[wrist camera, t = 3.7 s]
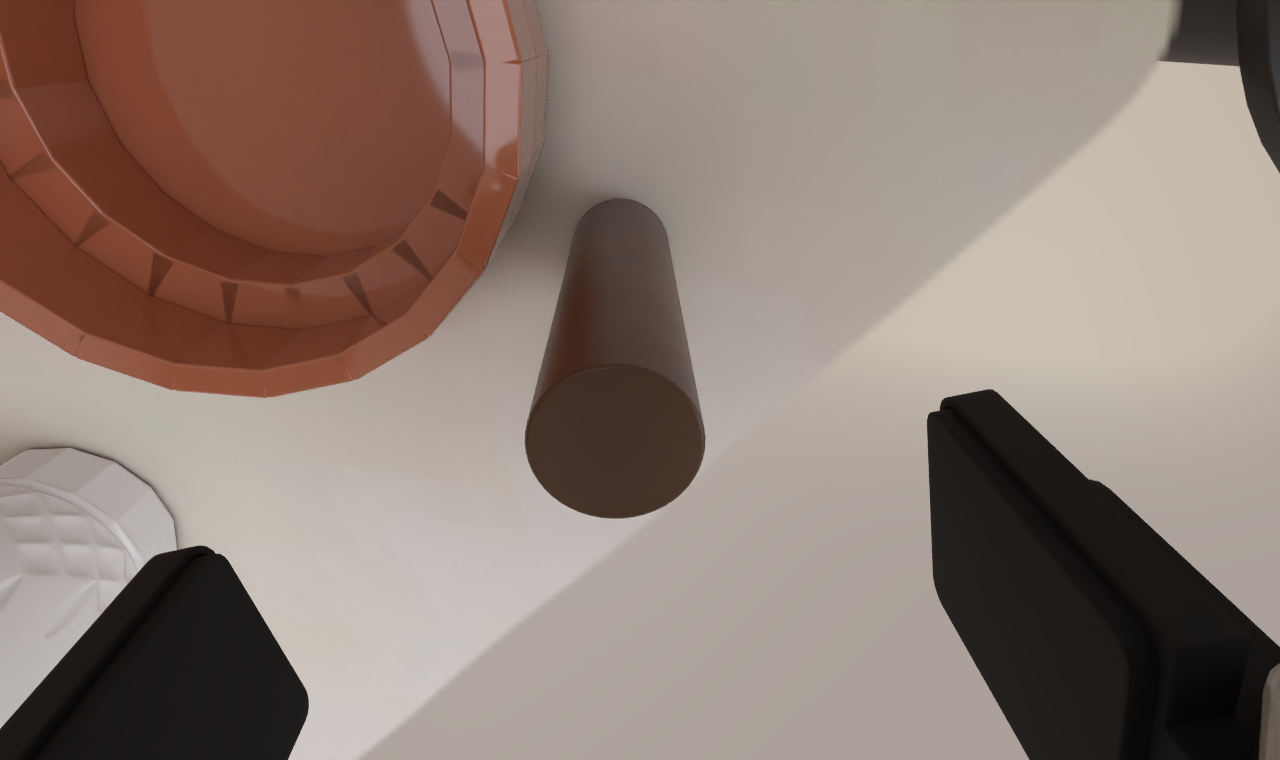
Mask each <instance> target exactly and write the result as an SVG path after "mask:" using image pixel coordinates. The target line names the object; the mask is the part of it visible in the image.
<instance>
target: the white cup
mask: <svg viewBox="0 0 1280 760" xmlns="http://www.w3.org/2000/svg"><path fill="white" fill-rule="evenodd" d="M175 550H177V544H176V536H175V528H174V520H173V518H172V516H171V515H170V513H169V512H168V510H167V509H166V508H165V506H164V505H163V503H162V502H161V500H160V499H159V498H158V496H157V495H156V493H155V492H154V491H153V489H152V488H151V487H150V486H149V485H147V484H146V483H144V482H143V481H142V480H140V479H139V478H137V477H136V476H134V475H133V474H132V473H130V472H129V471H127V470H126V469H124V468H123V467H122V466H120V465H119V464H117V463H116V462H114V461H111V460H108V459H104V458H101V457H98V456H95V455H92V454H88V453H85V452H82V451H79V450H76V449H72V448H54V449H29V450H25V451H23V452H21V453H19V454H17V455H16V456H14V457H12V458H10V459H9V460H7V461H5V462H3V463H2V464H0V728H1V727H2V726H3V725H4V724H5V723H6V722H7V720H8V719H9V718H10V717H11V716H12V715H13V714H14V712H15V711H16V710H17V709H18V708H19V707H20V706H21V705H22V703H23V702H24V701H25V700H26V699H27V698H28V697H29V695H30V694H31V693H32V692H33V691H34V690H35V689H36V688H37V686H38V685H39V684H40V683H41V682H42V681H43V680H44V678H45V677H46V676H47V675H48V674H49V673H50V672H51V671H52V669H53V668H54V667H55V666H56V665H57V664H58V663H59V661H60V660H61V659H62V658H63V657H64V656H65V655H66V653H67V652H68V651H69V650H70V649H71V648H72V647H73V646H74V644H75V643H76V642H77V641H78V640H79V639H80V638H81V636H82V635H83V634H84V633H85V632H86V631H87V630H88V629H89V627H90V626H91V625H92V624H93V623H94V622H95V621H96V619H97V618H98V617H99V616H100V615H101V614H102V613H103V612H104V610H105V609H106V608H107V607H108V606H109V605H110V604H111V602H112V601H113V600H114V599H115V598H116V597H117V596H118V594H119V593H120V592H121V591H122V590H123V589H124V588H125V587H126V585H127V584H128V583H129V582H130V581H131V580H132V579H133V577H134V576H135V575H136V574H137V573H138V572H139V571H140V570H141V568H142V567H143V566H144V565H145V564H146V563H147V562H148V561H149V560H150V559H151V558H152V557H153V556H155V555H158V554H161V553H165V552H170V551H175Z"/></svg>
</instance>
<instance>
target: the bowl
mask: <svg viewBox="0 0 1280 760" xmlns="http://www.w3.org/2000/svg"><path fill="white" fill-rule="evenodd" d="M547 66H548V55H547V47H546V43H545V39H544V35H543V31H542V27H541V23H540V19H539V15H538V11H537V7H536V3H535V0H0V312H2V313H4V314H5V315H7V316H9V317H10V318H12V319H14V320H15V321H17V322H18V323H20V324H22V325H23V326H25V327H27V328H28V329H30V330H32V331H33V332H35V333H37V334H38V335H40V336H41V337H43V338H45V339H46V340H48V341H50V342H51V343H53V344H55V345H56V346H58V347H59V348H61V349H63V350H64V351H66V352H68V353H69V354H71V355H73V356H77V358H79V359H82V360H85V361H88V362H91V363H93V364H96V365H99V366H102V367H105V368H108V369H111V370H114V371H117V372H120V373H123V374H126V375H129V376H132V377H135V378H138V379H141V380H144V381H147V382H149V383H152V384H155V385H158V386H161V387H164V388H167V389H170V390H174V389H175V390H177V391H187V392H199V393H212V394H224V395H236V396H249V397H261V398H267V397H276V396H280V395H285V394H290V393H295V392H300V391H305V390H310V389H314V388H319V387H324V386H329V385H334V384H339V383H344V382H348V381H353V380H354V379H355V380H356V379H359V378H361V377H362V376H364V375H366V374H367V373H369V372H371V371H373V370H374V369H376V368H378V367H379V366H381V365H383V364H385V363H386V362H388V361H390V360H391V359H393V358H395V357H397V356H398V355H400V354H402V353H403V352H405V351H407V350H409V349H410V348H412V347H414V346H415V345H417V344H419V343H421V342H422V341H424V340H426V339H427V338H428V337H429V336H431V335H432V334H433V333H434V331H435V330H436V329H437V328H438V327H439V325H440V324H441V323H442V322H443V320H444V319H445V318H446V317H447V316H448V314H449V313H450V312H451V311H452V310H453V308H454V307H455V306H456V305H457V304H458V302H459V301H460V300H461V299H462V298H463V296H464V295H465V294H466V293H467V292H468V290H469V289H470V288H471V287H472V286H473V284H474V283H475V282H476V281H477V280H478V278H479V277H480V276H481V275H482V274H483V272H484V271H485V269H486V268H487V266H488V264H489V262H490V261H491V259H492V257H493V256H494V254H495V252H496V250H497V249H498V247H499V245H500V243H501V242H502V240H503V238H504V237H505V235H506V233H507V231H508V230H509V228H510V226H511V225H512V223H513V221H514V219H515V218H516V216H517V214H518V212H519V209H520V206H521V204H522V201H523V198H524V196H525V193H526V190H527V187H528V185H529V182H530V179H531V177H532V174H533V171H534V168H535V166H536V163H537V160H538V158H539V155H540V152H541V149H542V147H543V144H544V142H543V141H544V137H545V114H546V90H547Z"/></svg>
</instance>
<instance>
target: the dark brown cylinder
mask: <svg viewBox="0 0 1280 760" xmlns="http://www.w3.org/2000/svg"><path fill="white" fill-rule="evenodd" d="M525 448H526V454H527V458H528V462H529V464H530V467H531V469H532V471H533V473H534V475H535V476H536V478H537V480H538V481H539V482H540V484H541V485H542V486H543V487H544V489H545V490H546V491H547V492H548V493H549V494H550V495H552V496H553V497H554V498H555V499H557V500H558V501H559V502H561V503H562V504H564V505H566V506H568V507H569V508H571V509H574V510H576V511H578V512H581V513H584V514H587V515H590V516H596V517H601V518H629V517H636V516H640V515H644V514H647V513H650V512H653V511H655V510H657V509H659V508H661V507H663V506H665V505H667V504H668V503H670V502H671V501H673V500H674V499H675V498H677V497H678V496H679V495H680V494H681V493H682V492H683V491H684V490H685V489H686V488H687V487H688V486H689V484H690V483H691V482H692V480H693V479H694V477H695V476H696V474H697V472H698V470H699V468H700V465H701V462H702V460H703V456H704V450H705V432H704V425H703V420H702V415H701V409H700V404H699V399H698V394H697V389H696V383H695V378H694V373H693V368H692V363H691V358H690V352H689V347H688V342H687V337H686V332H685V326H684V321H683V316H682V311H681V306H680V300H679V295H678V290H677V285H676V280H675V274H674V269H673V264H672V259H671V254H670V248H669V243H668V238H667V234H666V231H665V228H664V226H663V224H662V222H661V221H660V219H659V218H658V217H657V215H656V214H655V213H654V212H653V211H651V210H650V209H649V208H647V207H646V206H644V205H642V204H640V203H638V202H635V201H631V200H626V199H615V200H609V201H605V202H603V203H600V204H598V205H596V206H595V207H593V208H592V209H590V210H589V211H588V212H587V213H586V214H585V215H584V216H583V218H582V219H581V220H580V222H579V224H578V226H577V228H576V231H575V234H574V238H573V242H572V246H571V250H570V254H569V258H568V262H567V266H566V270H565V274H564V278H563V282H562V286H561V290H560V294H559V297H558V301H557V305H556V309H555V313H554V317H553V321H552V325H551V329H550V333H549V337H548V341H547V345H546V349H545V353H544V357H543V361H542V365H541V369H540V373H539V377H538V381H537V385H536V389H535V393H534V397H533V401H532V405H531V409H530V413H529V417H528V421H527V426H526V431H525Z"/></svg>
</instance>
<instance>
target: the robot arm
mask: <svg viewBox="0 0 1280 760" xmlns="http://www.w3.org/2000/svg"><path fill="white" fill-rule="evenodd" d="M927 434H928V460H929V485H930V509H931V533H932V534H931V535H932V559H933V578H934V584H935V588H936V591H937V594H938V597H939V599H940V601H941V604H942V606H943V608H944V609H945V611H946V613H947V614H948V616H949V618H950V620H951V622H952V624H953V625H954V627H955V629H956V630H957V632H958V634H959V636H960V638H961V639H962V641H963V643H964V644H965V646H966V648H967V650H968V652H969V654H970V655H971V657H972V659H973V661H974V662H975V664H976V666H977V668H978V669H979V671H980V673H981V675H982V676H983V678H984V680H985V681H986V683H987V685H988V687H989V689H990V691H991V692H992V694H993V696H994V698H995V699H996V701H997V703H998V705H999V706H1000V708H1001V710H1002V711H1003V713H1004V715H1005V717H1006V719H1007V721H1008V722H1009V724H1010V726H1011V728H1012V729H1013V731H1014V733H1015V735H1016V737H1017V738H1018V740H1019V742H1020V744H1021V745H1022V747H1023V749H1024V751H1025V752H1026V754H1027V756H1028V758H1029V759H1030V760H1280V647H1279V646H1278V645H1277V644H1276V643H1275V642H1274V641H1272V640H1271V639H1270V638H1269V637H1268V636H1267V635H1266V634H1265V633H1264V632H1263V631H1262V630H1261V629H1260V628H1258V627H1257V626H1256V625H1255V624H1254V623H1253V622H1252V621H1251V620H1250V619H1249V618H1248V617H1247V616H1246V615H1245V614H1244V613H1242V612H1241V611H1240V610H1239V609H1238V608H1237V607H1236V606H1235V605H1234V604H1233V603H1232V602H1231V601H1230V600H1228V599H1227V598H1226V597H1225V596H1224V595H1223V594H1222V593H1221V592H1220V591H1219V590H1218V589H1217V588H1216V587H1215V586H1213V585H1212V584H1211V583H1210V582H1209V581H1208V580H1207V579H1206V578H1205V577H1204V576H1203V575H1202V574H1201V573H1199V572H1198V571H1197V570H1196V569H1195V568H1194V567H1193V566H1192V565H1191V564H1190V563H1189V562H1188V561H1187V560H1185V559H1184V558H1183V557H1182V556H1181V555H1180V554H1179V553H1178V552H1177V551H1176V550H1175V549H1174V548H1173V547H1172V546H1170V545H1169V544H1168V543H1167V542H1166V541H1165V540H1164V539H1163V538H1162V537H1161V536H1160V535H1159V534H1158V533H1156V532H1155V531H1154V530H1153V529H1152V528H1151V527H1150V526H1149V525H1148V524H1147V523H1146V522H1144V521H1143V520H1142V519H1141V518H1140V517H1139V516H1138V515H1137V514H1136V513H1135V512H1134V511H1132V510H1131V508H1129V507H1128V506H1127V505H1126V504H1125V503H1124V502H1123V501H1122V500H1121V499H1120V498H1119V497H1118V496H1117V495H1116V494H1114V493H1113V492H1112V491H1111V490H1110V489H1109V488H1107V487H1106V486H1105V485H1103V484H1102V483H1100V482H1098V481H1094V480H1088V479H1087V478H1086V477H1085V476H1084V475H1083V474H1082V473H1081V472H1080V471H1079V470H1078V469H1077V468H1076V467H1075V466H1074V465H1073V464H1072V463H1071V462H1069V461H1068V460H1067V459H1066V458H1065V457H1064V456H1063V455H1062V454H1061V453H1060V452H1059V451H1058V450H1057V449H1056V448H1055V447H1054V446H1053V445H1052V444H1050V442H1048V441H1047V440H1046V439H1045V438H1044V437H1043V436H1042V435H1041V434H1040V433H1039V432H1038V431H1037V430H1036V429H1035V428H1034V427H1033V426H1032V425H1031V424H1030V423H1029V422H1028V421H1027V420H1025V419H1024V418H1023V417H1022V416H1021V415H1020V414H1019V413H1018V412H1017V411H1016V410H1015V409H1014V408H1013V407H1012V406H1011V405H1010V404H1009V403H1008V402H1007V401H1005V400H1004V399H1003V398H1002V397H1001V396H1000V395H999V394H998V393H997V392H995V391H994V390H989V389H988V390H983V391H978V392H972V393H967V394H962V395H957V396H952V397H947V398H944V399H943V400H942V402H941V405H940V411H936V412H931V413H930V414H929V415H928V418H927ZM308 708H309V700H308V695H307V692H306V689H305V687H304V686H303V684H302V682H301V681H300V679H299V677H298V676H297V674H296V672H295V671H294V669H293V667H292V666H291V664H290V662H289V661H288V659H287V657H286V656H285V654H284V652H283V651H282V649H281V648H280V646H279V644H278V643H277V641H276V639H275V638H274V636H273V634H272V633H271V631H270V629H269V628H268V626H267V624H266V623H265V621H264V619H263V618H262V616H261V614H260V613H259V611H258V609H257V608H256V606H255V604H254V603H253V601H252V599H251V598H250V596H249V594H248V593H247V591H246V589H245V588H244V586H243V585H242V583H241V581H240V580H239V578H238V576H237V575H236V573H235V571H234V570H233V568H232V566H231V565H230V563H229V561H228V560H227V559H226V558H225V557H224V556H222V555H221V554H215V552H214V551H213V550H211V549H210V548H208V547H206V546H195V547H190V548H185V549H180V550H175V551H170V552H165V553H161V554H158V555H155V556H153V557H152V558H151V559H150V560H149V561H148V562H147V563H146V564H145V565H144V566H143V567H142V568H141V570H140V571H139V572H138V573H137V574H136V575H135V576H134V577H133V579H132V580H131V581H130V582H129V583H128V584H127V585H126V587H125V588H124V589H123V590H122V591H121V592H120V593H119V594H118V596H117V597H116V598H115V599H114V600H113V601H112V602H111V604H110V605H109V606H108V607H107V608H106V609H105V610H104V612H103V613H102V614H101V615H100V616H99V617H98V618H97V619H96V621H95V622H94V623H93V624H92V625H91V626H90V627H89V629H88V630H87V631H86V632H85V633H84V634H83V635H82V636H81V638H80V639H79V640H78V641H77V642H76V643H75V644H74V646H73V647H72V648H71V649H70V650H69V651H68V652H67V653H66V655H65V656H64V657H63V658H62V659H61V660H60V661H59V663H58V664H57V665H56V666H55V667H54V668H53V669H52V671H51V672H50V673H49V674H48V675H47V676H46V677H45V678H44V680H43V681H42V682H41V683H40V684H39V685H38V686H37V688H36V689H35V690H34V691H33V692H32V693H31V694H30V695H29V697H28V698H27V699H26V700H25V701H24V702H23V703H22V705H21V706H20V707H19V708H18V709H17V710H16V711H15V712H14V714H13V715H12V716H11V717H10V718H9V719H8V720H7V722H6V723H5V724H4V725H3V726H2V727H1V728H0V760H288V758H289V756H290V754H291V751H292V749H293V747H294V745H295V742H296V740H297V738H298V736H299V734H300V731H301V729H302V727H303V725H304V722H305V720H306V717H307V714H308Z"/></svg>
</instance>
